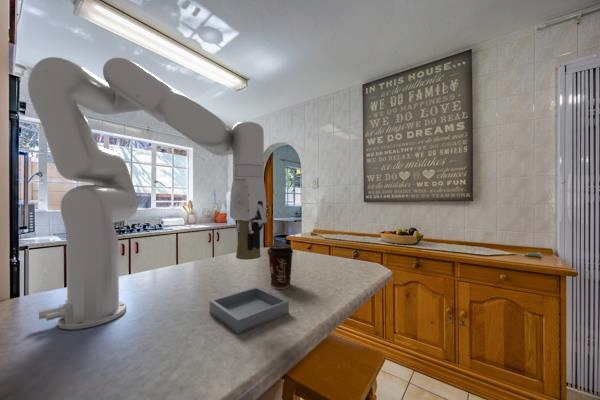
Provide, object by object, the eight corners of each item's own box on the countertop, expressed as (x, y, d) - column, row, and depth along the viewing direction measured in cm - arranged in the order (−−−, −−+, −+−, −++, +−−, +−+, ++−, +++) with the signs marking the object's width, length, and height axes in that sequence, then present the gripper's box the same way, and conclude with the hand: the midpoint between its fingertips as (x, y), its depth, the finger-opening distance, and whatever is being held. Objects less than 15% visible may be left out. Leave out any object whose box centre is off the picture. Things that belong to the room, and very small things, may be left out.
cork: (258, 259, 59) (258, 213, 59) (232, 259, 59) (232, 213, 59) (262, 253, 65) (262, 211, 65) (239, 253, 65) (239, 211, 65)
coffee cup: (264, 282, 84) (264, 244, 84) (288, 279, 87) (288, 242, 87) (271, 291, 76) (270, 249, 76) (296, 288, 79) (296, 247, 79)
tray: (238, 334, 52) (238, 320, 52) (209, 312, 62) (209, 300, 62) (288, 313, 62) (288, 301, 61) (257, 297, 72) (256, 286, 72)
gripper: (218, 175, 65) (219, 245, 65) (254, 170, 53) (254, 256, 53) (244, 177, 70) (244, 242, 70) (281, 172, 58) (281, 251, 58)
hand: (248, 247), depth 62 cm, fingers closed on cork, 3 cm apart
